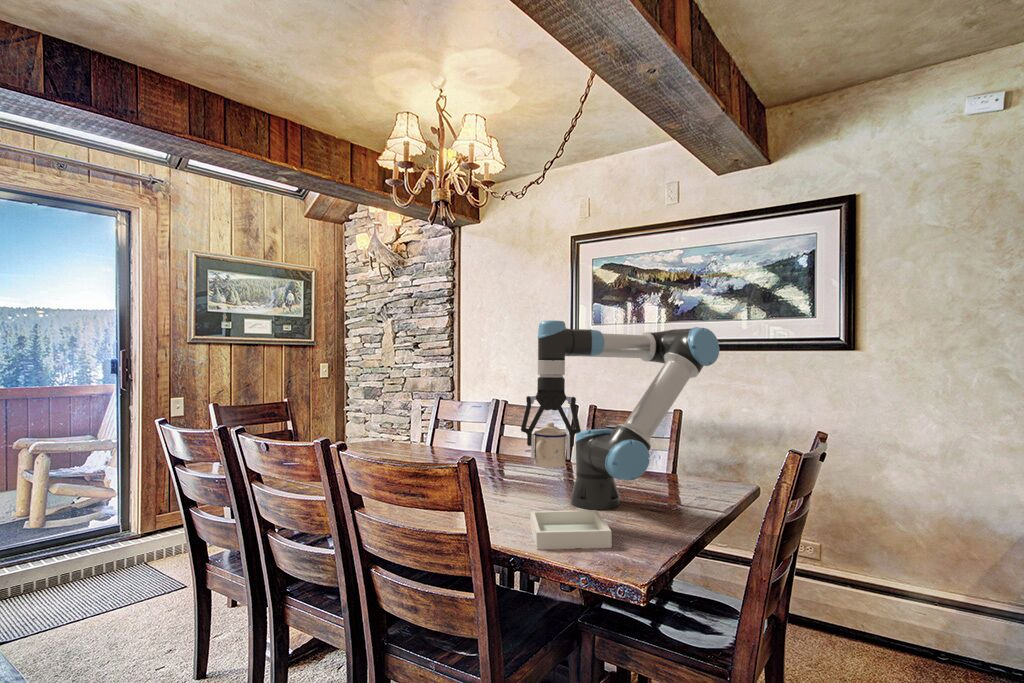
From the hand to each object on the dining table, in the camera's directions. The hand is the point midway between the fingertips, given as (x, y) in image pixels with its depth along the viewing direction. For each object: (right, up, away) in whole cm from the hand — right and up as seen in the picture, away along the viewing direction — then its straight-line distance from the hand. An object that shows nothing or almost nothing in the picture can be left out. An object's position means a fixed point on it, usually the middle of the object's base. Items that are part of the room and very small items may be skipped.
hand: (550, 458), depth 150 cm
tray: (+4, -18, -11) cm, 21 cm away
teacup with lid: (-1, -2, 0) cm, 2 cm away
